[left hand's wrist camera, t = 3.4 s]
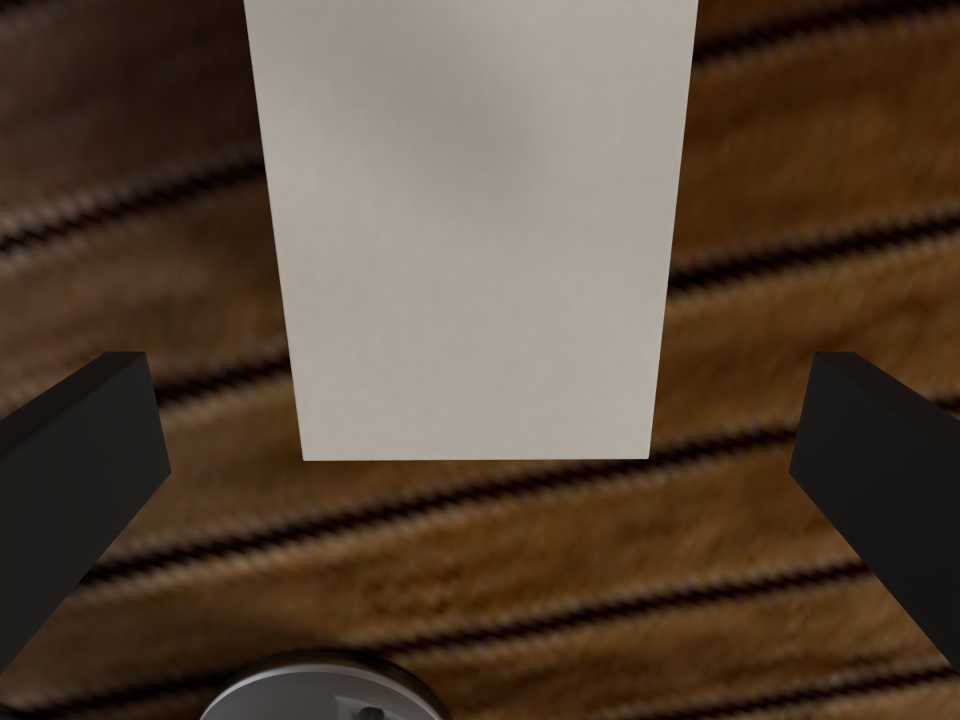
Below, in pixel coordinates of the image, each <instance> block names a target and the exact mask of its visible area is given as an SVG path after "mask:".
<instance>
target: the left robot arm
mask: <svg viewBox="0 0 960 720" xmlns="http://www.w3.org/2000/svg"><path fill="white" fill-rule="evenodd" d="M170 474H171V468H170V464H169V459H168V454H167V450H166V445H165V441H164V436H163V431H162V427H161V422H160V417H159V413H158V408H157V403H156V399H155V394H154V389H153V385H152V380H151V376H150V371H149V366H148V362H147V357H146V352H105V353H104V354H102V355H101V356H99V357H97V358H96V359H94V360H93V361H91V362H90V363H88V364H87V365H85V366H84V367H82V368H81V369H79V370H78V371H76V372H74V373H73V374H71V375H70V376H68V377H67V378H65V379H64V380H62V381H61V382H59V383H58V384H56V385H54V386H53V387H51V388H50V389H48V390H47V391H45V392H44V393H42V394H41V395H39V396H38V397H36V398H34V399H33V400H31V401H30V402H28V403H27V404H25V405H24V406H22V407H21V408H19V409H18V410H16V411H14V412H13V413H11V414H10V415H8V416H7V417H5V418H4V419H2V420H1V421H0V674H1V673H2V672H3V671H4V670H5V668H6V667H7V666H8V665H9V664H10V662H11V661H12V660H13V659H14V658H15V657H16V655H17V654H18V653H19V652H20V651H21V649H22V648H23V647H24V646H25V645H26V644H27V642H28V641H29V640H30V639H31V638H32V636H33V635H34V634H35V633H36V632H37V631H38V629H39V628H40V627H41V626H42V625H43V624H44V622H45V621H46V620H47V619H48V618H49V616H50V615H51V614H52V613H53V612H54V611H55V609H56V608H57V607H58V606H59V605H60V603H61V602H62V601H63V600H64V599H65V598H66V596H67V595H68V594H69V593H70V592H71V590H72V589H73V588H74V587H75V586H76V585H77V583H78V582H79V581H80V580H81V579H82V578H83V576H84V575H85V574H86V573H87V572H88V570H89V569H90V568H91V567H92V566H93V565H94V563H95V562H96V561H97V560H98V559H99V557H100V556H101V555H102V554H103V553H104V552H105V550H106V549H107V548H108V547H109V546H110V544H111V543H112V542H113V541H114V540H115V539H116V537H117V536H118V535H119V534H120V533H121V532H122V530H123V529H124V528H125V527H126V526H127V524H128V523H129V522H130V521H131V520H132V519H133V517H134V516H135V515H136V514H137V513H138V511H139V510H140V509H141V508H142V507H143V506H144V504H145V503H146V502H147V501H148V500H149V498H150V497H151V496H152V495H153V494H154V493H155V491H156V490H157V489H158V488H159V487H160V486H161V484H162V483H163V482H164V481H165V480H166V478H167V477H168V476H169V475H170ZM789 474H790V475H791V476H792V477H793V478H794V480H795V481H796V482H797V483H798V484H799V486H800V487H801V488H802V489H803V490H804V491H805V493H806V494H807V495H808V496H809V497H810V498H811V500H812V501H813V502H814V503H815V504H816V506H817V507H818V508H819V509H820V510H821V511H822V513H823V514H824V515H825V516H826V517H827V519H828V520H829V521H830V522H831V523H832V524H833V526H834V527H835V528H836V529H837V530H838V532H839V533H840V534H841V535H842V536H843V537H844V539H845V540H846V541H847V542H848V543H849V544H850V546H851V547H852V548H853V549H854V550H855V552H856V553H857V554H858V555H859V556H860V557H861V559H862V560H863V561H864V562H865V563H866V565H867V566H868V567H869V568H870V569H871V570H872V572H873V573H874V574H875V575H876V576H877V578H878V579H879V580H880V581H881V582H882V583H883V585H884V586H885V587H886V588H887V589H888V590H889V592H890V593H891V594H892V595H893V596H894V598H895V599H896V600H897V601H898V602H899V603H900V605H901V606H902V607H903V608H904V609H905V611H906V612H907V613H908V614H909V615H910V616H911V618H912V619H913V620H914V621H915V622H916V624H917V625H918V626H919V627H920V628H921V629H922V631H923V632H924V633H925V634H926V635H927V636H928V638H929V639H930V640H931V641H932V642H933V644H934V645H935V646H936V647H937V648H938V649H939V651H940V652H941V653H942V654H943V655H944V657H945V658H946V659H947V660H948V661H949V662H950V664H951V665H952V666H953V667H954V668H955V670H956V671H957V672H958V673H959V674H960V421H959V420H958V419H956V418H955V417H953V416H952V415H950V414H949V413H947V412H946V411H944V410H942V409H941V408H939V407H938V406H936V405H935V404H933V403H932V402H930V401H929V400H927V399H926V398H924V397H922V396H921V395H919V394H918V393H916V392H915V391H913V390H912V389H910V388H909V387H907V386H906V385H904V384H902V383H901V382H899V381H898V380H896V379H895V378H893V377H892V376H890V375H889V374H887V373H886V372H884V371H882V370H881V369H879V368H878V367H876V366H875V365H873V364H872V363H870V362H869V361H867V360H866V359H864V358H862V357H861V356H859V355H858V354H856V353H855V352H814V357H813V362H812V366H811V371H810V376H809V380H808V385H807V389H806V394H805V399H804V403H803V408H802V413H801V417H800V422H799V427H798V431H797V436H796V441H795V445H794V450H793V454H792V459H791V464H790V468H789ZM0 720H24V719H21V718H19V717H17V716H14V715H12V714H9V713H7V712H5V711H3V710H0ZM200 720H452V718H451V716H450V714H449V713H448V711H447V710H446V708H445V707H444V705H443V704H442V703H441V702H440V700H439V699H438V698H437V697H436V696H435V695H434V694H433V693H432V692H431V691H430V690H429V689H428V688H427V687H425V686H424V685H423V684H422V683H420V682H419V681H417V680H416V679H414V678H413V677H411V676H410V675H408V674H406V673H404V672H403V671H401V670H399V669H397V668H395V667H392V666H390V665H388V664H385V663H383V662H380V661H377V660H374V659H371V658H367V657H363V656H359V655H354V654H349V653H342V652H333V651H303V652H293V653H288V654H282V655H278V656H274V657H270V658H267V659H264V660H261V661H258V662H256V663H254V664H251V665H249V666H247V667H245V668H243V669H242V670H240V671H238V672H237V673H235V674H234V675H232V676H231V677H230V678H228V679H227V680H226V681H225V682H224V683H223V684H222V685H221V686H219V688H218V689H217V690H216V691H215V692H214V694H213V695H212V696H211V698H210V699H209V701H208V703H207V705H206V707H205V709H204V711H203V714H202V716H201V718H200Z"/></svg>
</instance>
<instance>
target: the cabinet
mask: <svg viewBox="0 0 960 720" xmlns="http://www.w3.org/2000/svg"><path fill="white" fill-rule="evenodd" d="M244 6H245V13H246V21H247V29H248V36H249V44H250V52H251V60H252V67H253V75H254V83H255V91H256V98H257V106H258V114H259V121H260V129H261V137H262V145H263V152H264V160H265V168H266V176H267V183H268V191H269V199H270V206H271V214H272V222H273V230H274V237H275V245H276V253H277V261H278V268H279V276H280V284H281V291H282V299H283V307H284V315H285V322H286V330H287V338H288V346H289V353H290V361H291V369H292V376H293V384H294V392H295V400H296V407H297V415H298V423H299V431H300V438H301V446H302V454H303V460H305V461H311V460H494V459H648V457H649V449H650V440H651V430H652V421H653V412H654V403H655V394H656V384H657V375H658V366H659V357H660V348H661V338H662V329H663V320H664V311H665V302H666V292H667V283H668V274H669V265H670V256H671V246H672V237H673V228H674V219H675V210H676V200H677V191H678V182H679V173H680V164H681V154H682V145H683V136H684V127H685V118H686V109H687V99H688V90H689V81H690V72H691V63H692V53H693V44H694V35H695V26H696V17H697V7H698V0H244Z"/></svg>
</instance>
